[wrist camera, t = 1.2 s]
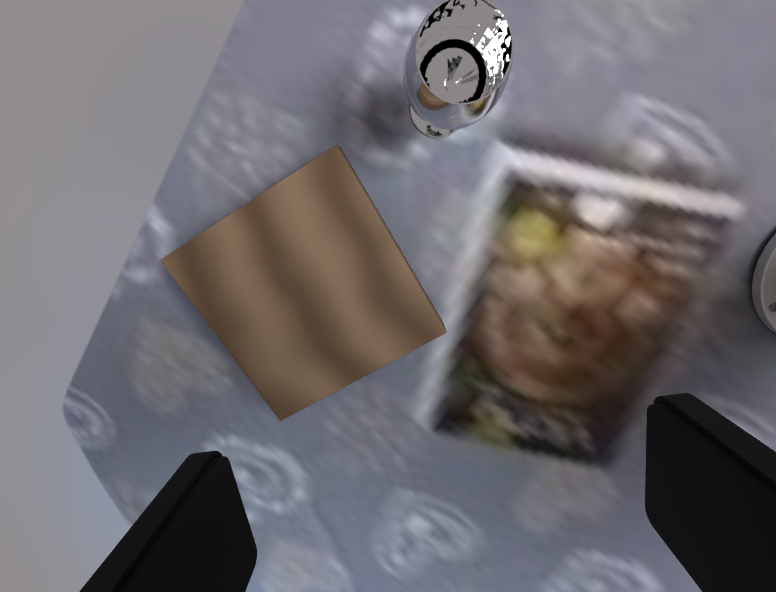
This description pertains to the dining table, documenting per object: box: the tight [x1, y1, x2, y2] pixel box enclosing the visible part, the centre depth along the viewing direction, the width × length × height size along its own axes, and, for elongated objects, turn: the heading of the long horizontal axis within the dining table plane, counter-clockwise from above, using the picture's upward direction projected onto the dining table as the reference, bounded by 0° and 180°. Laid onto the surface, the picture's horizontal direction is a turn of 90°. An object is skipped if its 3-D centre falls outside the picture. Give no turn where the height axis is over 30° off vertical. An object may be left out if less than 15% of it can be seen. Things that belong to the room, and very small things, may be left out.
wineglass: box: [403, 0, 514, 138], centre depth 24 cm, size 6×6×12 cm
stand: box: [160, 145, 447, 421], centre depth 31 cm, size 16×16×4 cm
